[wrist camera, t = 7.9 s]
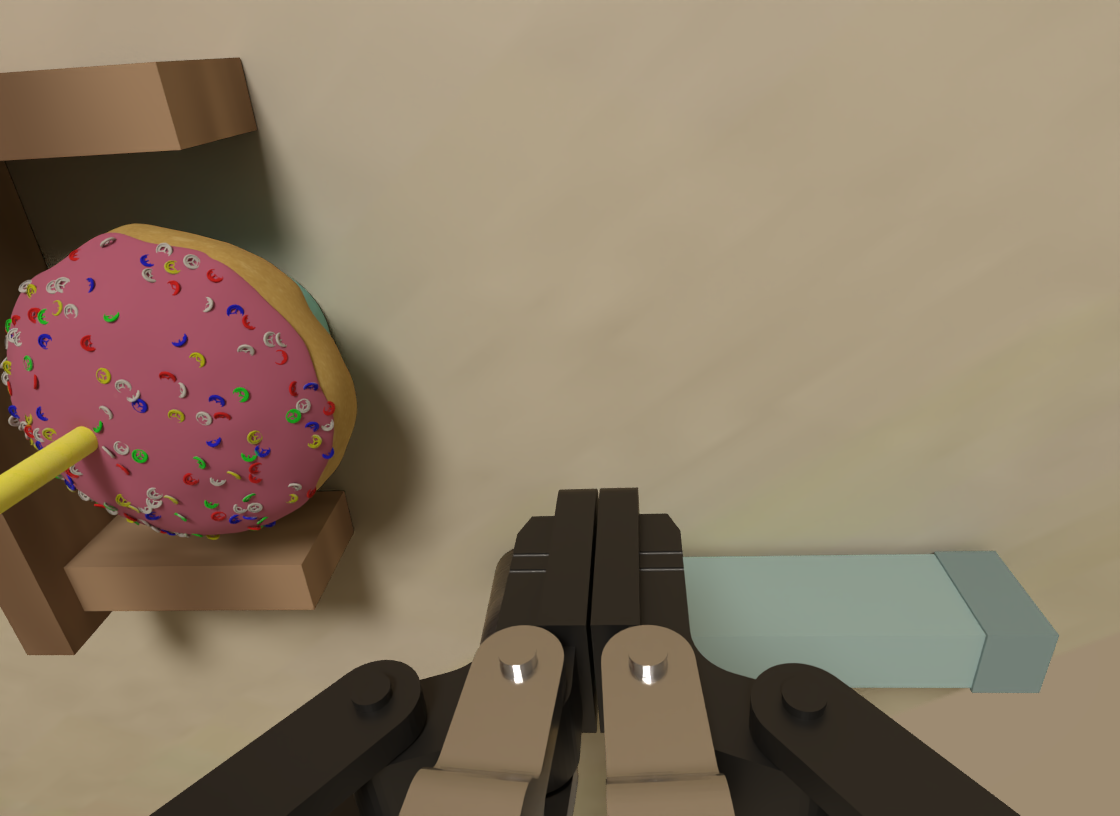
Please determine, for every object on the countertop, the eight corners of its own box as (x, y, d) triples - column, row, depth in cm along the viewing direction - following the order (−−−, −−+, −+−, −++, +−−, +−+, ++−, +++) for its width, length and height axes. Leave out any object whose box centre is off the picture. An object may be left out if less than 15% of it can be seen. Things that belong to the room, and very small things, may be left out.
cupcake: (181, 454, 25) (-134, 763, 14) (76, 209, 21) (-460, 382, 10) (419, 434, 24) (270, 749, 13) (354, 174, 20) (75, 326, 10)
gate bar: (590, 606, 27) (587, 691, 23) (587, 555, 26) (584, 637, 22) (980, 604, 26) (1039, 692, 22) (995, 551, 24) (1058, 635, 21)
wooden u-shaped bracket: (230, 18, 19) (112, 12, 14) (358, 551, 26) (309, 654, 22) (-100, 44, 19) (-311, 45, 15) (121, 554, 27) (27, 655, 23)
